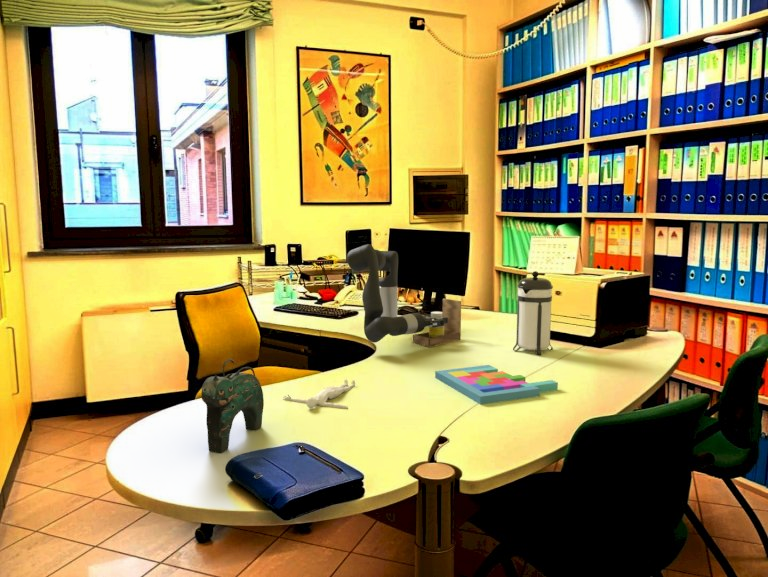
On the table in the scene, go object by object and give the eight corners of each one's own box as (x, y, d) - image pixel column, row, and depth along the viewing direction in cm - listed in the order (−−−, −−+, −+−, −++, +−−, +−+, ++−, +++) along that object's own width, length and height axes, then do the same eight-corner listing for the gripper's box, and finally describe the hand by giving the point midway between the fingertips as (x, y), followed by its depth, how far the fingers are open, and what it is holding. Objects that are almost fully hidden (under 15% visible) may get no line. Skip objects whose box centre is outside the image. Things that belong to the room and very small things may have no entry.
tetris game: (480, 406, 171) (563, 394, 181) (480, 396, 171) (563, 385, 181) (435, 379, 197) (510, 370, 207) (435, 371, 197) (510, 362, 207)
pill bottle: (433, 337, 252) (433, 310, 250) (446, 339, 248) (447, 312, 247) (426, 340, 246) (426, 312, 245) (440, 342, 243) (440, 314, 242)
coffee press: (561, 355, 225) (564, 273, 221) (517, 355, 225) (519, 273, 221) (548, 344, 242) (551, 268, 238) (507, 344, 242) (509, 268, 238)
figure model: (377, 381, 186) (339, 401, 163) (377, 393, 186) (339, 416, 163) (317, 374, 194) (272, 392, 171) (317, 385, 194) (272, 406, 171)
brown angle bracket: (412, 343, 245) (412, 303, 243) (443, 336, 257) (444, 298, 255) (429, 347, 238) (429, 306, 236) (460, 340, 250) (461, 301, 248)
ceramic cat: (220, 457, 136) (216, 369, 133) (196, 453, 138) (192, 366, 136) (269, 427, 154) (266, 348, 152) (247, 423, 157) (244, 346, 154)
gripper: (423, 316, 231) (452, 311, 241) (397, 311, 241) (426, 307, 252) (423, 336, 232) (452, 330, 242) (397, 330, 242) (426, 325, 253)
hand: (439, 318), depth 247 cm, fingers open, 8 cm apart
